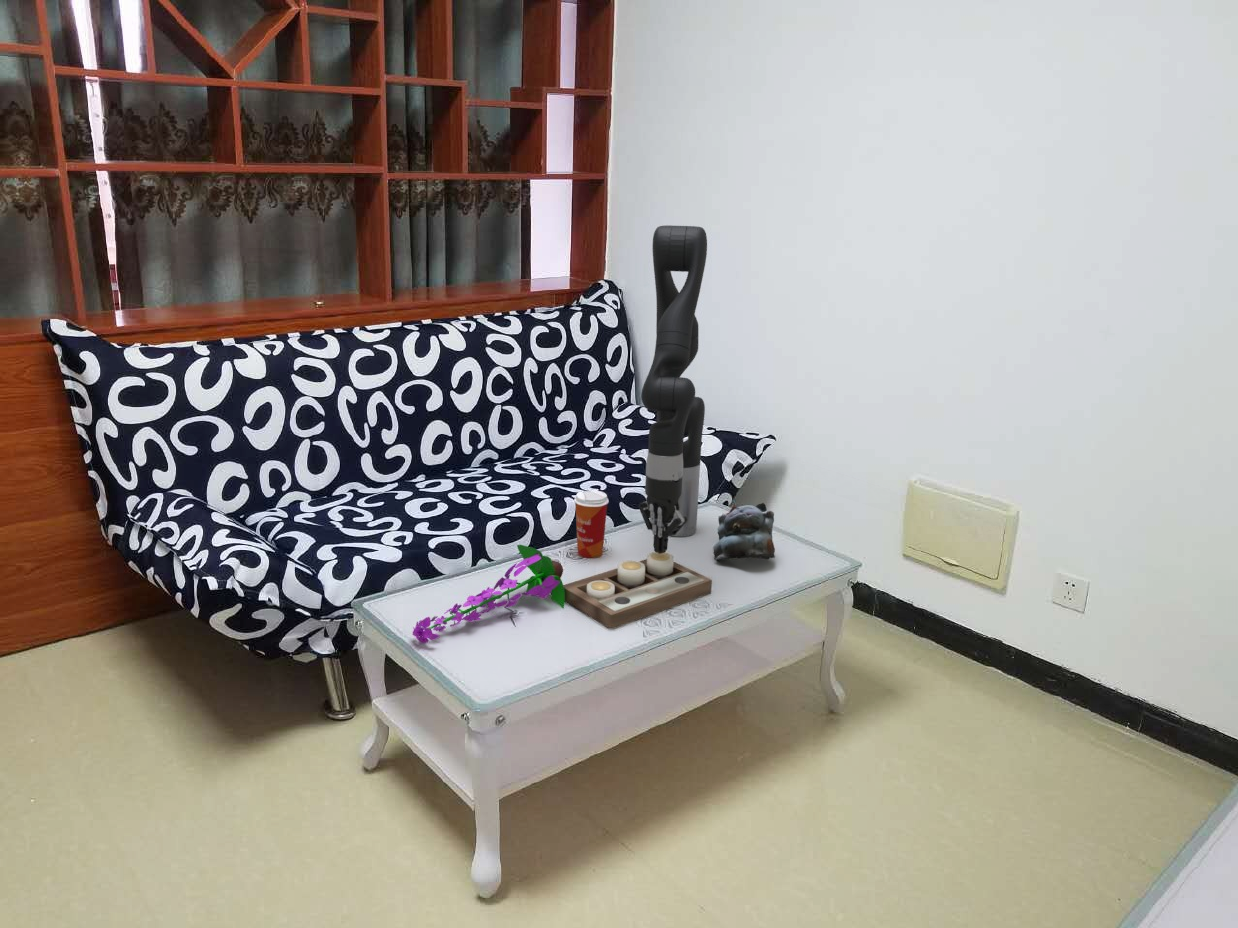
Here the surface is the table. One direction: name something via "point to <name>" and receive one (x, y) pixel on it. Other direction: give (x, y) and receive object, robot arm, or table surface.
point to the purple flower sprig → (537, 586)
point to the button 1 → (600, 589)
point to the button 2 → (660, 563)
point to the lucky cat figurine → (745, 533)
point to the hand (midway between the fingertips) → (660, 551)
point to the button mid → (631, 572)
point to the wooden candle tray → (637, 595)
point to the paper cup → (590, 522)
